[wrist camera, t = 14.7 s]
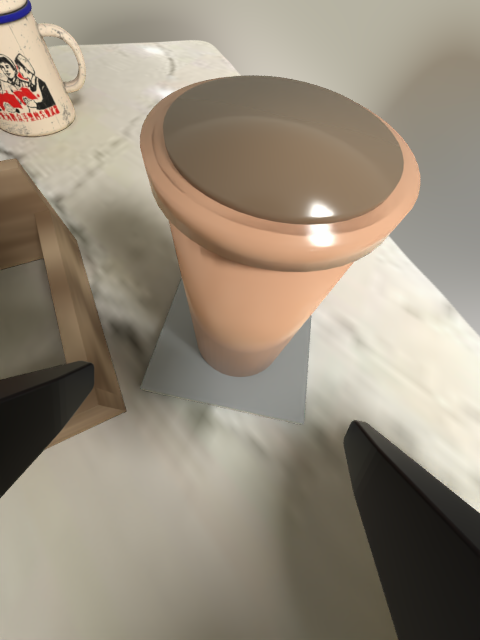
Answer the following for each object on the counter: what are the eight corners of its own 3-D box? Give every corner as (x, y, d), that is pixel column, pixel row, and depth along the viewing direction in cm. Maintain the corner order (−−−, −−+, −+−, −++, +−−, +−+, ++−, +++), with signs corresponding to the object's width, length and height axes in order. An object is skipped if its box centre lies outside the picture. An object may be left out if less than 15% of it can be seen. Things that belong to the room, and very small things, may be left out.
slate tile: (300, 424, 16) (304, 424, 15) (143, 390, 16) (139, 388, 15) (309, 291, 21) (313, 286, 20) (189, 265, 21) (188, 260, 20)
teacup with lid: (-10, 142, 26) (-167, -57, 15) (-2, 100, 29) (-125, -85, 19) (106, 134, 28) (41, -42, 18) (101, 96, 32) (43, -69, 21)
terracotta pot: (229, 401, 15) (268, 303, 4) (175, 323, 17) (85, 94, 6) (303, 344, 18) (480, 166, 6) (247, 281, 20) (293, 53, 8)
